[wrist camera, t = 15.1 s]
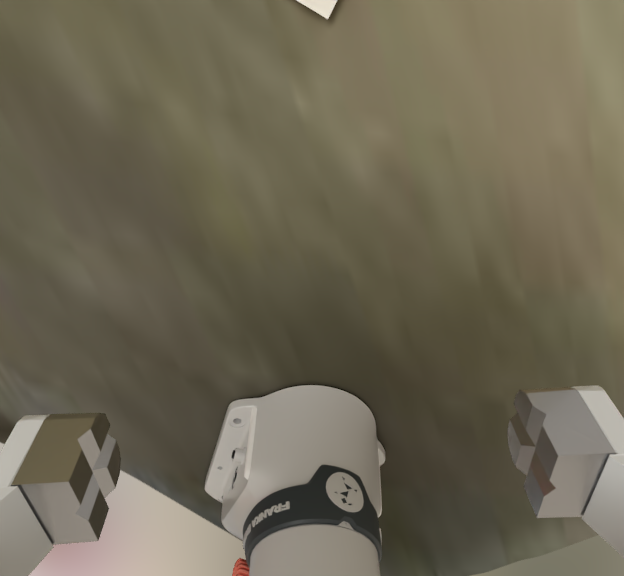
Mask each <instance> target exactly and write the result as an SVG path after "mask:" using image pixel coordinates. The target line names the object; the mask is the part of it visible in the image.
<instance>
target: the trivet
mask: <svg viewBox="0 0 624 576" xmlns="http://www.w3.org/2000/svg"><path fill="white" fill-rule="evenodd" d="M297 1H298V2H300V3H302V4H303V5H305V6H307V7H308V8H310V9H312V10H313V11H315V12H317V13H318V14H320V15H322V16H323V17H325V18H327V19H328V18H329V16H330V14H331V12H332V10H333V8H334V6H335V4H336V2H337V0H297Z"/></svg>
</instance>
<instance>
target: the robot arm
mask: <svg viewBox="0 0 624 576" xmlns="http://www.w3.org/2000/svg"><path fill="white" fill-rule="evenodd" d="M514 405H515V408H516V410H517V412H518V413H517V414H516V415H514V416H513V417H512V418H511V419H510V421H509V426H508V445H509V449H510V453H511V457H512V459H513V462H514V464H515V467H517V468H518V469H519V470H520V471H522V472H523V473H524V474H525V475H527V477H526V481H525V484H524V488H525V491H526V493H527V495H528V498H529V500H530V503H531V505H532V507H533V510H534V512H535V514H536V517H537V518H548V517H583V518H582V519H583V520H584V521H585V522H586V523H587V524H588V525H589V526H590V527H591V528H592V529H593V530H594V531H595V532H596V533H598V534H599V535H600V536H601V537H602V538H603V539H604V540H605V541H606V542H607V543H608V544H609V545H610V546H611V547H613V548H614V549H615V550H616V551H617V552H618V553H619V554H620V555H621V556H622V557H623V558H624V418H623V417H622V415H621V414H620V412H619V411H618V410H617V408H616V407H615V405H614V404H613V402H612V401H611V399H610V398H609V396H608V395H607V394H606V392H605V391H604V389H603V388H601V387H600V386H598V385H594V386H578V387H559V388H543V389H528V390H520V391H519V392H518V393H517V394H516V397H515V401H514ZM237 418H238V419H237ZM109 428H110V423H109V421H108V419H107V417H106V414H104V413H76V414H50V415H25V416H24V417H23V418H21V419H20V420H19V421H18V422H17V424H16V425H15V427H14V429H13V431H12V432H11V434H10V436H9V438H8V439H7V441H6V443H5V445H4V446H3V448H2V450H1V452H0V576H28V575H29V574H30V573H31V572H32V571H33V570H34V569H35V568H36V566H37V565H38V564H39V563H40V562H41V561H42V560H43V559H44V557H45V556H46V555H47V554H48V553H49V552H50V551H51V549H52V548H53V545H54V544H67V543H79V542H91V541H98V540H99V537H100V534H101V531H102V528H103V525H104V522H105V519H106V516H107V512H108V509H109V508H108V506H107V503H106V501H105V499H104V498H105V497H106V496H107V495H108V494H109V493H110V492H111V491H112V490H114V489H115V487H116V484H117V481H118V477H119V473H120V462H121V458H120V450H119V446H118V444H117V441H116V440H115V439H114V438H112V437H111V436H109V435H108V434H107V433H108V430H109ZM384 462H385V450H384V448H383V446H382V445H381V443H380V442H379V441H378V439H377V436H376V422H375V419H374V416H373V414H372V412H371V411H370V409H369V408H368V407H367V406H366V405H365V404H364V403H363V402H362V401H361V400H360V399H358V398H357V397H355V396H354V395H352V394H350V393H348V392H345V391H343V390H340V389H336V388H332V387H327V386H319V385H303V386H295V387H290V388H286V389H282V390H279V391H276V392H274V393H271V394H269V395H267V396H264V397H260V398H249V399H240V400H236V401H233V402H231V403H230V405H229V406H228V409H227V412H226V416H225V419H224V422H223V425H222V428H221V432H220V435H219V438H218V441H217V444H216V448H215V451H214V454H213V457H212V460H211V464H210V467H209V470H208V473H207V476H206V480H205V491H206V492H207V493H208V494H209V495H211V496H212V497H213V498H215V499H216V500H218V501H219V502H221V503H223V504H222V514H221V521H222V524H223V526H224V527H225V528H226V529H227V530H228V531H229V532H230V533H231V534H233V535H234V536H236V537H238V538H240V539H241V540H243V549H245V555H246V560H244V559H241V558H240V559H238V560H237V561H236V563H235V567H234V569H233V574H232V576H381V575H380V568H379V563H380V561H381V558H382V547H381V545H382V543H381V542H382V540H381V539H382V535H381V529H380V528H379V521H378V517H380V515H381V512H382V500H381V481H380V466H381V465H382V464H383V463H384Z"/></svg>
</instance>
